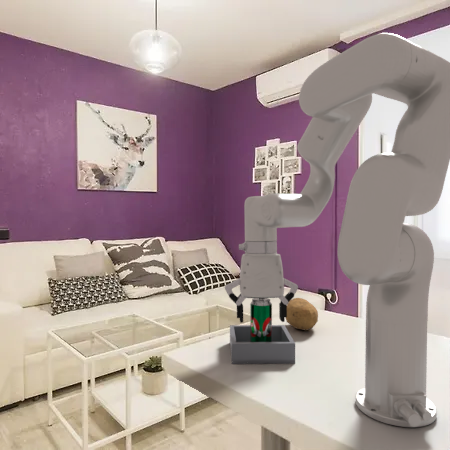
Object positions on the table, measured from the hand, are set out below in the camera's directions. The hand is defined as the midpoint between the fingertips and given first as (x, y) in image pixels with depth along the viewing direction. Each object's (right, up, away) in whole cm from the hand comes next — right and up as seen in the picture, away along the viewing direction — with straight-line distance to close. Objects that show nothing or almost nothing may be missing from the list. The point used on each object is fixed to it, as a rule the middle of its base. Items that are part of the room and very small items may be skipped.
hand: (261, 320), depth 92 cm
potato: (+13, -7, +20) cm, 25 cm away
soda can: (0, -7, 0) cm, 7 cm away
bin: (0, -8, +1) cm, 8 cm away
